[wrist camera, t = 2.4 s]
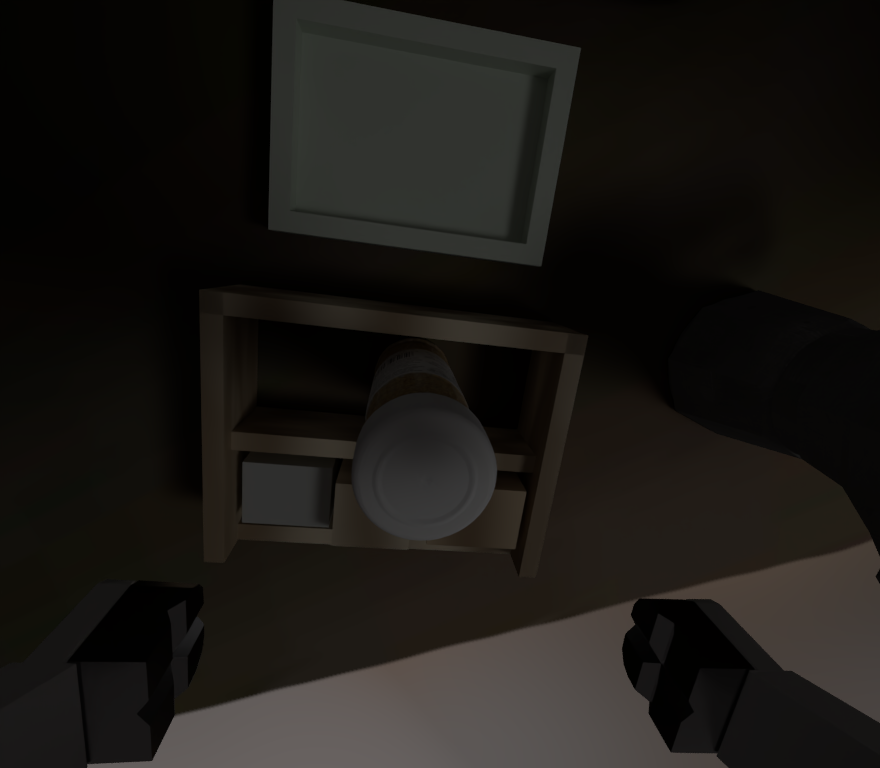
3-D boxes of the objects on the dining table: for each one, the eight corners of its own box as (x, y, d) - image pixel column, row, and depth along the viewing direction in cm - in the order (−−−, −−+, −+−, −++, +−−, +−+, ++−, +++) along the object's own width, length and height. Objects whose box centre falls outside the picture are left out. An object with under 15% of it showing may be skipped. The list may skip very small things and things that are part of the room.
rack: (553, 322, 26) (588, 335, 21) (513, 526, 29) (535, 577, 25) (240, 284, 24) (199, 289, 19) (238, 509, 27) (204, 561, 22)
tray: (565, 66, 22) (581, 47, 20) (530, 266, 25) (541, 266, 23) (285, 12, 21) (273, -14, 19) (279, 232, 23) (268, 229, 21)
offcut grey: (342, 439, 27) (332, 468, 23) (338, 490, 28) (328, 527, 24) (265, 432, 26) (242, 461, 22) (264, 485, 27) (241, 522, 23)
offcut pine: (412, 445, 27) (415, 489, 22) (406, 495, 28) (407, 549, 23) (348, 439, 27) (335, 483, 21) (344, 491, 28) (331, 545, 22)
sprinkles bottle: (389, 418, 27) (378, 565, 14) (363, 349, 25) (325, 438, 12) (460, 395, 27) (516, 520, 14) (438, 324, 25) (477, 389, 12)
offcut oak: (504, 452, 28) (526, 491, 23) (496, 501, 29) (515, 549, 24) (428, 446, 27) (434, 485, 23) (422, 496, 28) (426, 544, 23)
